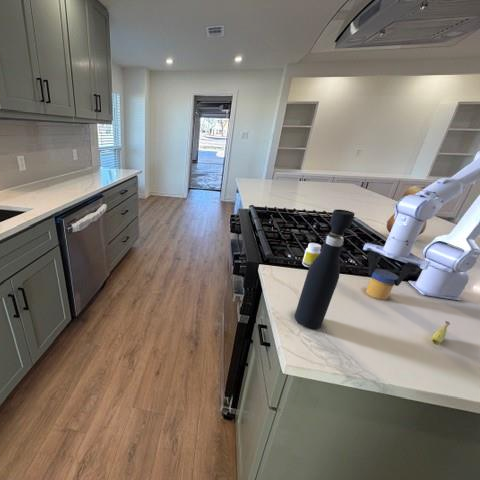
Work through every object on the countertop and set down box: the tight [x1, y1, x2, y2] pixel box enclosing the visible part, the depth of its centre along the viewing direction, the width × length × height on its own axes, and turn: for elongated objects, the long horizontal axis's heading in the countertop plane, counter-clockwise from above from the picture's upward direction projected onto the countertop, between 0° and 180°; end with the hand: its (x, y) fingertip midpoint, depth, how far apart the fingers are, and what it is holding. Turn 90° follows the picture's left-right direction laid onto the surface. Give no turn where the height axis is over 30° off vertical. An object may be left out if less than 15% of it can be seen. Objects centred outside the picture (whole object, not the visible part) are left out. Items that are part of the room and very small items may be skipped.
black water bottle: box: [293, 208, 356, 330], centre depth 61 cm, size 6×6×30 cm
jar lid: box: [370, 268, 399, 286], centre depth 76 cm, size 6×6×2 cm
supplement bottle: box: [301, 242, 322, 269], centre depth 93 cm, size 5×5×8 cm
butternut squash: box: [386, 185, 428, 237], centre depth 118 cm, size 14×13×25 cm
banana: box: [430, 320, 451, 345], centre depth 61 cm, size 8×2×4 cm, turn 124°
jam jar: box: [365, 277, 395, 301], centre depth 77 cm, size 5×5×6 cm
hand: (383, 279), depth 77 cm, fingers closed on jar lid, 6 cm apart
